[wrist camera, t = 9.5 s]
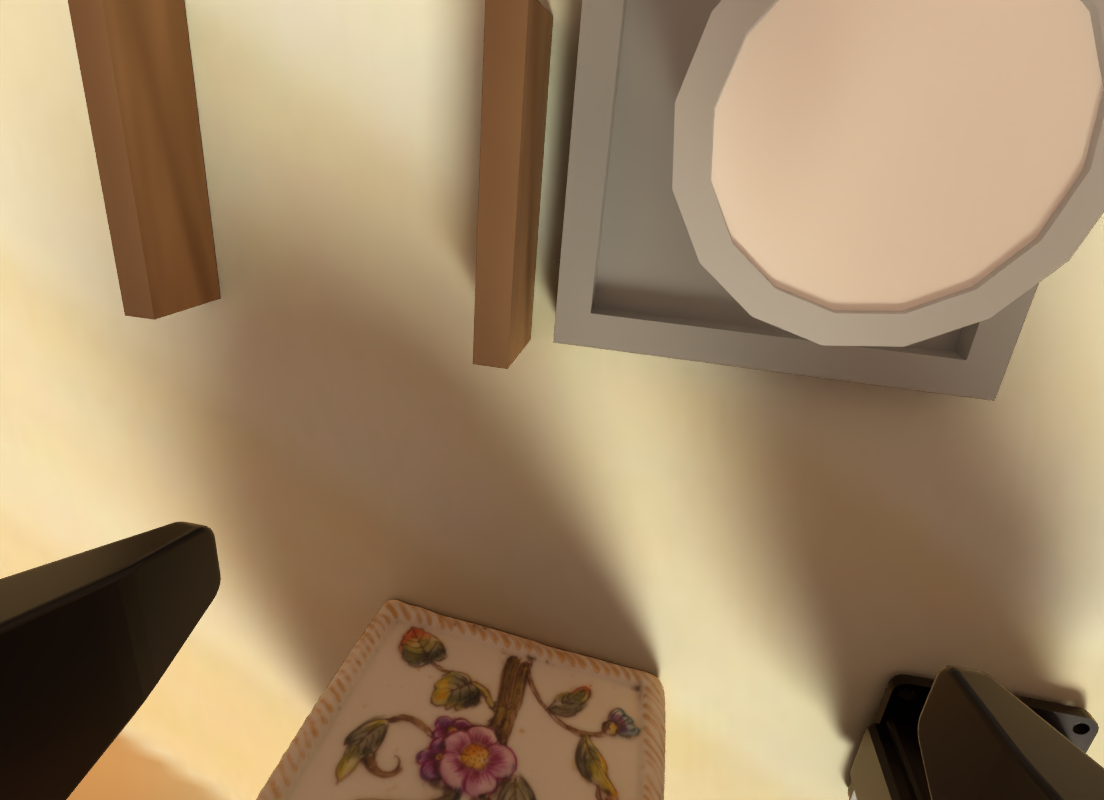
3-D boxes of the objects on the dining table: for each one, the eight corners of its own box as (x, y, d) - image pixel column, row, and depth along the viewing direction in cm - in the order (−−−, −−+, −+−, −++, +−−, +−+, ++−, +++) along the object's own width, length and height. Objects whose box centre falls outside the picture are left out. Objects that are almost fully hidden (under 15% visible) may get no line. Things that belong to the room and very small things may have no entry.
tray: (1151, -134, 14) (1208, -169, 12) (968, 380, 18) (994, 400, 17) (605, -147, 15) (597, -178, 14) (562, 328, 20) (553, 342, 18)
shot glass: (647, 252, 18) (630, 308, 11) (709, -33, 15) (732, -169, 9) (897, 300, 17) (1029, 388, 11) (1008, 8, 14) (1275, -106, 8)
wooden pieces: (553, 16, 17) (528, -10, 14) (530, 339, 20) (507, 369, 17) (152, -8, 18) (61, -35, 16) (194, 294, 22) (125, 315, 19)
